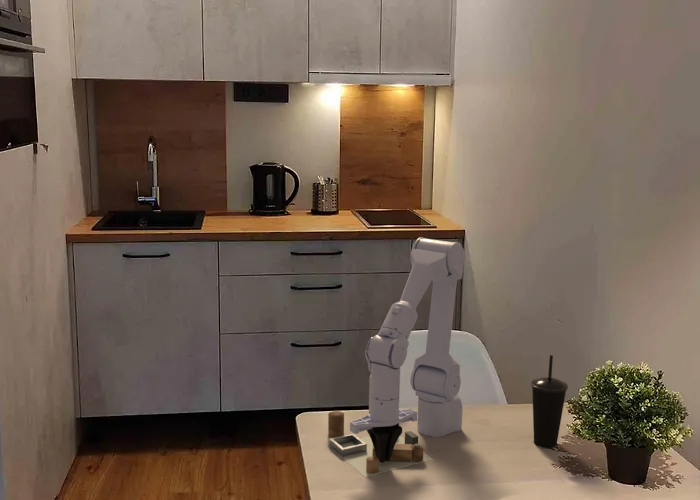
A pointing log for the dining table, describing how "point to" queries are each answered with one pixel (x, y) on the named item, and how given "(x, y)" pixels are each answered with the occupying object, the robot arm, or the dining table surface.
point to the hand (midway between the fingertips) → (383, 460)
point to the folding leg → (406, 452)
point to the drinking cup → (547, 408)
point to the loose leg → (335, 424)
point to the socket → (357, 448)
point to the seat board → (381, 466)
